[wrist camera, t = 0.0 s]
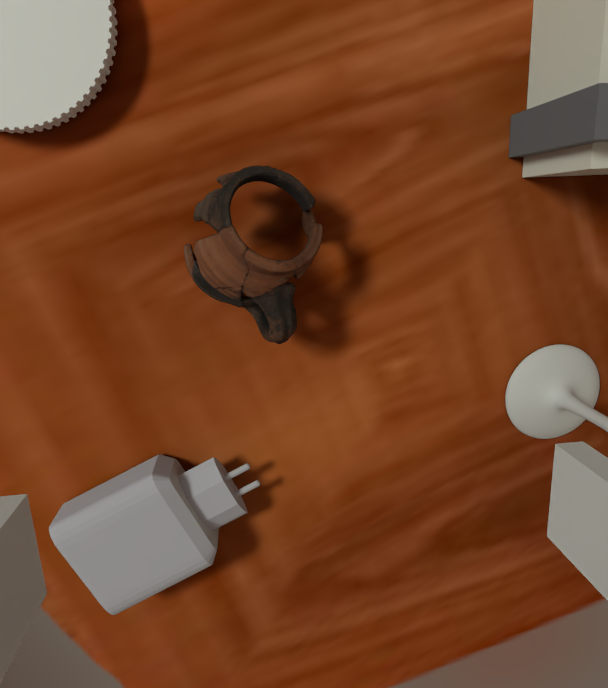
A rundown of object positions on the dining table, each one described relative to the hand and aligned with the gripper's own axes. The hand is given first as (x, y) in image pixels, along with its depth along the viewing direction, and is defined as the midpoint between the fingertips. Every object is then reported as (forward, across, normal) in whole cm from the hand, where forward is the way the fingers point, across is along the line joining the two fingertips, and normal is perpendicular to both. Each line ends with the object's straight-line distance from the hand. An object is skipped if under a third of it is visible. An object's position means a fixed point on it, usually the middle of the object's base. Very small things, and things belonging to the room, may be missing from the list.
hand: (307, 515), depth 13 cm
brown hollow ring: (+28, 0, +4) cm, 29 cm away
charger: (+28, -8, -16) cm, 34 cm away
